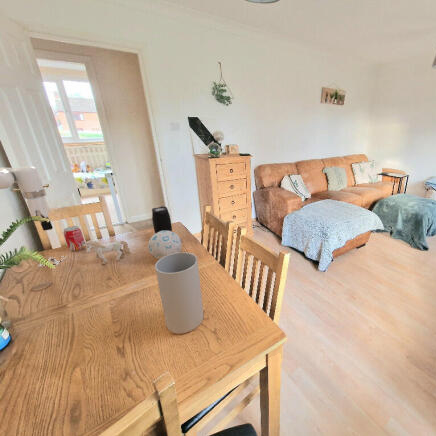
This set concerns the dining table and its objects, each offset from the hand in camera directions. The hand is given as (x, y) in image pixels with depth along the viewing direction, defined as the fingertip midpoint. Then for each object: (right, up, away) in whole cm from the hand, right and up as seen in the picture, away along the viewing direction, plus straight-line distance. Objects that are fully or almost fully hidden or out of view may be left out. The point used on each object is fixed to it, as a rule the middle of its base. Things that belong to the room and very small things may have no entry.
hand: (48, 229), depth 118 cm
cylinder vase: (+82, -32, -31) cm, 94 cm away
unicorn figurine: (+32, -17, -2) cm, 36 cm away
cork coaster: (+16, -23, -19) cm, 34 cm away
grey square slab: (+4, -16, -2) cm, 16 cm away
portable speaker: (+45, -7, +25) cm, 52 cm away
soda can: (+6, -11, +10) cm, 16 cm away
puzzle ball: (+56, -15, +6) cm, 58 cm away
